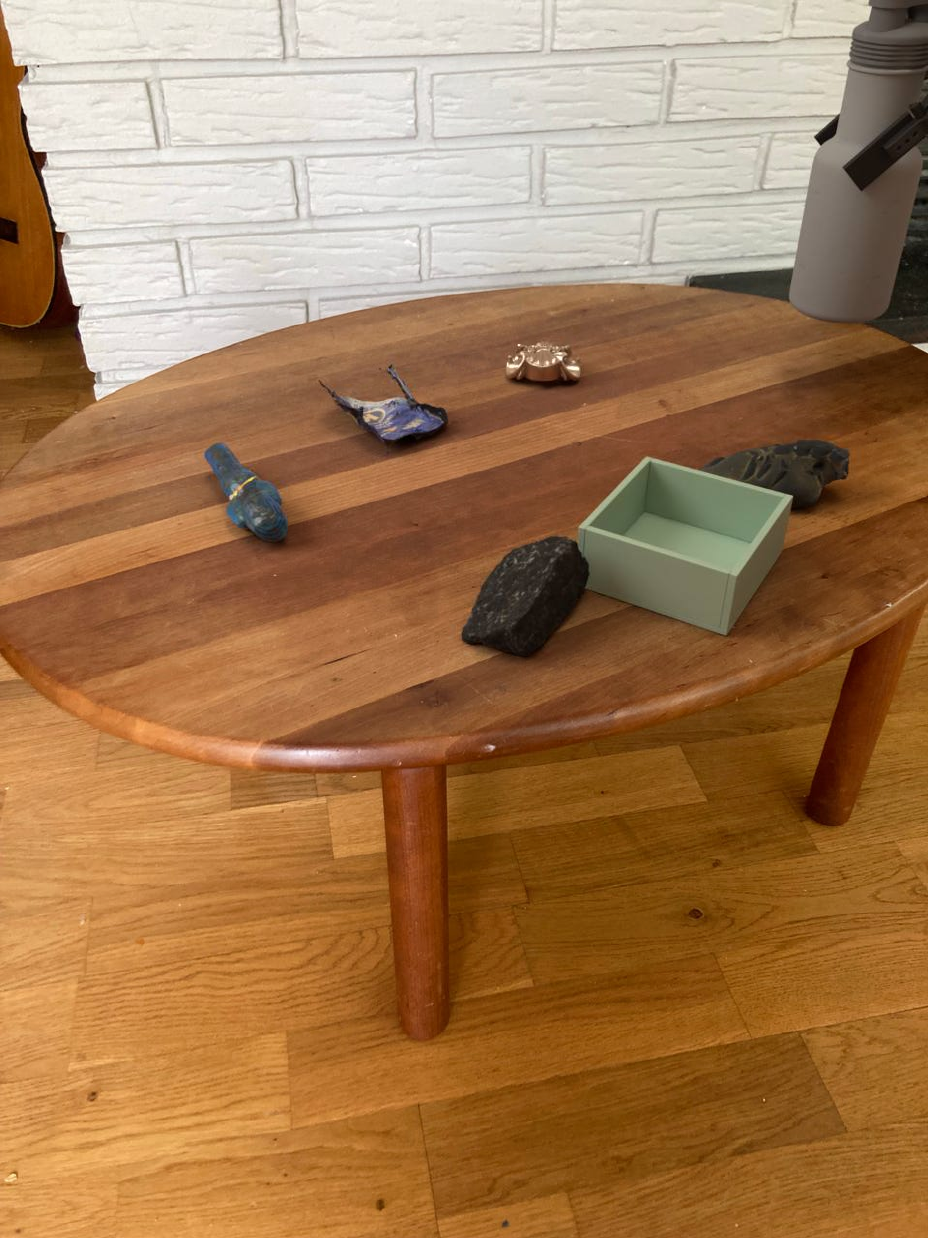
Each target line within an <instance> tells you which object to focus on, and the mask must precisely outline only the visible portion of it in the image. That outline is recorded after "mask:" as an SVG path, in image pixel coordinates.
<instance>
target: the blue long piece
mask: <svg viewBox="0 0 928 1238" xmlns="http://www.w3.org/2000/svg"><path fill="white" fill-rule="evenodd" d="M203 455H204V458H205V459H204V460H206V462H207V463H208V465H209V467H210V468H211V469H212V471H213V473H214V475H215V477H216V478H217V480H218V484H219V486H220V487H221V490H222V491H223V493H224V495H225V497H226V498H227V500H228V501H229V503H228V505H227V507H226V508H225V513H226V515H227V517H228V519H229V520H230V521H231V522H232V523H233V524H234V525H235V526H237V527H239V528H240V529H242V530H248V529H249V530H250V531H251V532H253V534H255V535H256V536H257V537H259V538H260V539H261V540H263V541H265V542H267V543H277V542H279V541H281V540H283V539H284V538H285V537H286V536H287V533H288V530H289V521H288V517H287V515H286V513H285V511H284V509H283V508H282V504H283V499H282V497H281V494H280V492H279V491H278V489H277V487H276V486H275V485H274V483H272V482H270V481H269V480H266V479H265V480H263V479H260V477H259V476H258V474H256V473H255V472H254V471H253V470H251V469H249V468H248V467H246V466H244V465H243V464H242V462H240V461H239V460H238V458H237V457H236V455H235V454H234V452H233V451H232V450H231V449H230V448H229V446H227V444H226V443H224V442H216V443H213V444H212V445H210V446H209V447H208V448H206V449H205V450H204V453H203Z"/></svg>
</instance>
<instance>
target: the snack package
mask: <svg viewBox="0 0 928 1238" xmlns="http://www.w3.org/2000/svg"><path fill="white" fill-rule="evenodd" d="M381 370H382V368H381V367H380V368H378V371H381ZM386 372H387V374H388V376H391V379H392V380H395V382H396V383H397V385H398V387H399V388H400V390H401V392H402V393H403V395H404V397H399V396H397V397H392V398H386V399H385V400H380V401H369V400H367V401H364V400H359V399H356V398H353V397H351V396H349V395H343V394H341V395H340V396H339V395H337V394H336V392H335V391H331V389H330V388H329V387H328V386H327V385H328V384H325V385H324V383H323V382H322V381H321V380H320V379H319V380H318V382H319V385H320V386H321V387H322V388H324V390H326V391H327V393H328V394H329V396H330V397H331V398H332V401H333V403H334V404H335V405H336V406H337V407H339V408H340V409H341V411H342V412H343V413H345V414H346V415H347V416H348V417H349V418H350V419H351V420H352V421H354V422H355V424H356V425H357V426H359V428H361V429H363V430H365V431H367V432H369V433H372V434H373V435H375V436H376V437H377V438H378V439H379V440H380V441H381V442H382V443H383V444H384V446H385V447H387V448H389V447H390V446H392V445H393V444H394V443H396V442H398V441H399V440H400V439H401V440H402V439H403V438H404V437H408V436H412V437H415V440H416V442H418V441H420V440H421V439H424V438H427V437H428V436H431V437H432V436H433V435H434V434H436V433H437V432H438V431H439V430H441V429H442V428H443V427H444V426H447V425H448V424H449V416H448V413H447V411H446V409H445V408H444V407H441V406H439V407H436V406H433V405H430V404H429V403H419V402H418V401H417V400H416V398H415V397H414V396H413V395H412V394H411V392H410V391H409V389H408V383H407V382H406V380H405V379H401V378H400V375H399V372H398V370H397V369H396V368H395V367H394V366H393V364H392V363H391V364H390V365H389V366H388V367H387V368H386ZM363 375H366V373H363ZM352 393H353V394H354V395H357V392H356V391H355V390H352ZM411 444H412V442H410V445H411ZM406 446H409V444H408V443H407V444H406ZM389 453H390V451H387V452H386V454H389Z"/></svg>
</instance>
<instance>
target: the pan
mask: <svg viewBox="0 0 928 1238" xmlns="http://www.w3.org/2000/svg"><path fill="white" fill-rule="evenodd" d="M792 500H793V496H791V495H788V494H784V493H780V492H776V491H773V490H769V489H765V488H762V487H758V486H754V485H751V484H747V483H743V482H739V481H736V480H732V479H728V478H725V477H721V476H717V475H714V474H710V473H706V472H702V471H699V469H694V468H692V467H688V466H684V465H680V464H677V463H672V462H669V461H665V460H662V459H657V458H655V457H650V456H645V457H644V458H643V459H642V460H641V461H640V462H639V464H637V466H635V468H634V469H632V471H630V473H628V474H627V476H626V477H625V478H624V479H622V481H621V482H620V483H619V484H618V485H617V486H616V487H615V488H614V489H613V491H612V492H610V494H609V495H608V496H606V497H605V499H604V500H602V502H601V503H599V505H598V506H597V507H596V508H595V509H594V510H593V511H592V512H591V513H590V514H589V515H588V517H586V519H584V521H582V523H581V524H579V526H578V530H577V544H578V549H579V550H580V552H581V553H582V557H585V558H586V561H587V562H588V564H589V569H588V570H589V574H590V575H589V577H588V581H587V584H586V587H585V589H586V590H589V591H592V592H595V593H597V594H601V595H603V596H605V597H606V596H607V597H610V598H612V599H616V600H619V601H622V602H625V603H627V604H630V605H633V606H636V607H638V608H639V607H640V608H642V609H645V610H648V611H650V612H654V613H657V614H660V615H663V616H665V617H669V618H671V619H675V620H677V621H681V622H683V623H687V624H690V625H692V626H696V627H698V628H702V629H705V630H708V631H711V632H713V633H715V634H719V635H723V636H725V637H726V636H728V634H729V633H730V631H731V630H732V628H733V627H734V625H735V624H736V622H737V621H738V619H739V618H740V617H741V615H742V613H743V612H744V610H745V609H746V608H747V606H748V604H749V602H750V601H751V600H752V598H753V596H754V595H755V594H756V592H757V590H758V589H759V587H761V585H762V583H763V581H764V580H765V579H766V577H767V575H768V574H769V572H770V571H771V569H772V568H773V566H774V565H775V564H776V562H777V560H778V559H779V558H780V555H781V554H782V552H783V547H784V543H785V537H786V532H787V527H788V523H789V518H790V514H791V510H792V508H791V505H792Z"/></svg>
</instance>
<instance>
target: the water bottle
mask: <svg viewBox="0 0 928 1238" xmlns="http://www.w3.org/2000/svg"><path fill="white" fill-rule="evenodd" d="M867 5H868V6H870V7H871V8H870V13H869V17H868V20H866V21H863V22H862V23H859V24H857V25H856V26H854V28H853V29H852V31H851V42H850V45H851V46H849V47H850V48H849V50H850V51H849V53H848V57H849V58H850V59H848V60H847V61H846V63H845V64H846V67H847V68H848V70H847V75H846V81H845V86H844V91H843V96H842V101H841V107H840V112H839V114H840V117H839V122H838V127H837V132H836V135H835V136H834V137H833V138H831V139H830V140H828V141H826V142H825V143H824V144H822V145H821V146H820V145H819V147H818V149H817V150H816V152H815V154H814V157H813V161H812V164H811V170H810V175H809V181H808V185H807V186H808V187H807V192H806V197H805V203H804V208H803V214H802V219H801V225H800V229H799V236H798V242H797V246H796V252H795V257H794V258H795V259H794V263H793V269H792V275H791V281H790V286H789V291H788V299H789V302H790V304H791V306H792V308H794V309H795V310H796V311H797V312H799V313H801V314H802V315H804V316H806V317H809V318H811V319H813V320H817V321H821V322H828V323H833V324H858V323H860V324H861V323H865V322H870V321H872V320H875V319H878V318H879V317H881V316H883V314H884V313H886V311H887V310H888V308H889V306H890V302H891V298H892V295H893V291H894V286H895V283H896V278H897V275H898V269H899V265H900V261H901V257H902V253H903V250H904V245H905V242H906V237H907V233H908V229H909V225H910V221H911V218H912V217H911V215H912V213H913V209H914V204H915V200H916V195H917V191H918V187H919V183H920V179H921V176H922V171H923V166H924V165H923V164H924V158H923V155H922V152H921V151H920V149H919V148H918V147H917V146H914V147H913V148H912V149H911V150H910V151H908V152H907V153H906V154H905V155H904V156H903V157H901V158H900V159H899V160H898V161H897V162H896V163H894V164H893V165H892V166H891V167H890V168H889V169H887V170H886V171H885V172H884V173H883V174H881V175H880V176H879V177H878V178H877V179H876V180H874V181H873V182H872V183H871V184H870V185H869V186H867V187H866V188H865V189H864V190H863V191H862V192H861V191H860V190H859V189H858V187H857V186H856V185H855V183H854V182H853V181H852V179H851V178H850V177H849V175H848V174H847V173H846V172H845V170H844V169H843V168H842V167H843V166H844V165H845V164H846V163H847V162H849V161H850V160H851V159H852V158H853V157H854V156H856V155H857V154H858V153H859V152H860V151H861V150H862V149H864V148H865V147H866V146H867V145H868V144H869V143H870V142H872V141H873V140H874V139H875V138H876V137H877V136H878V135H880V134H881V133H882V132H883V131H884V130H885V129H886V128H888V127H889V126H890V125H891V124H892V123H893V122H894V121H896V120H897V119H898V118H899V117H900V116H901V115H903V114H904V113H905V112H906V111H908V112H909V113H910V114H911V116H912V117H913V118H915V117H914V115H913V114H912V112H911V111H910V110H909V108H908V106H909V104H912V103H916V102H919V101H920V99H921V94H922V90H923V86H924V82H925V81H924V78H925V77H927V78H928V0H868V3H867Z"/></svg>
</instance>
